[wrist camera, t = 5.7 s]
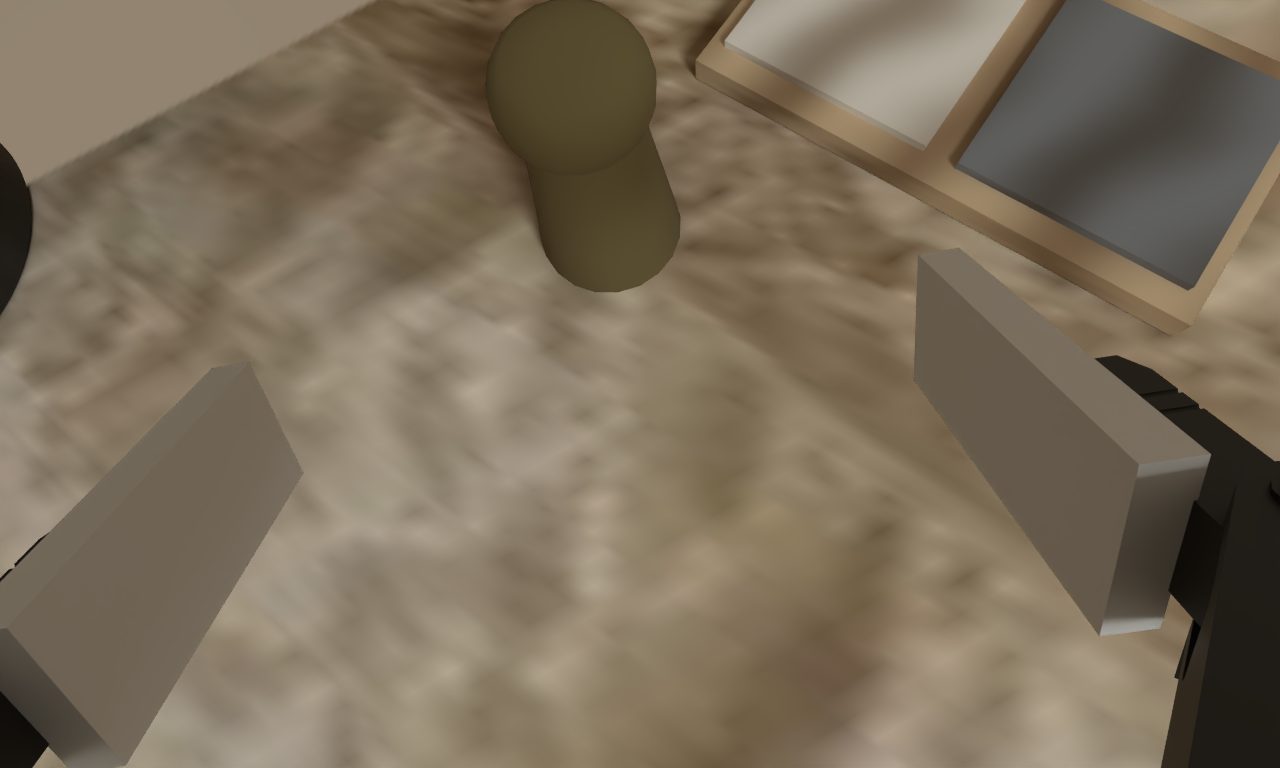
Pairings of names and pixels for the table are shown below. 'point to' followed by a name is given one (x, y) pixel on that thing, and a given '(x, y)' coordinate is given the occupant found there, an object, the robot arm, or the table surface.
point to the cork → (586, 140)
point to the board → (1032, 126)
